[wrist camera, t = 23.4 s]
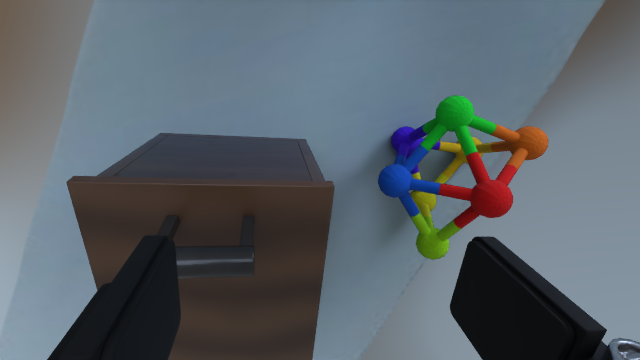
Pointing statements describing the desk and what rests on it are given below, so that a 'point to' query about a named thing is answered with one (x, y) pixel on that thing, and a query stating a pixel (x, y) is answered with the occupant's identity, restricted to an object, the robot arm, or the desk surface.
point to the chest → (219, 159)
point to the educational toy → (484, 196)
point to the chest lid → (220, 256)
